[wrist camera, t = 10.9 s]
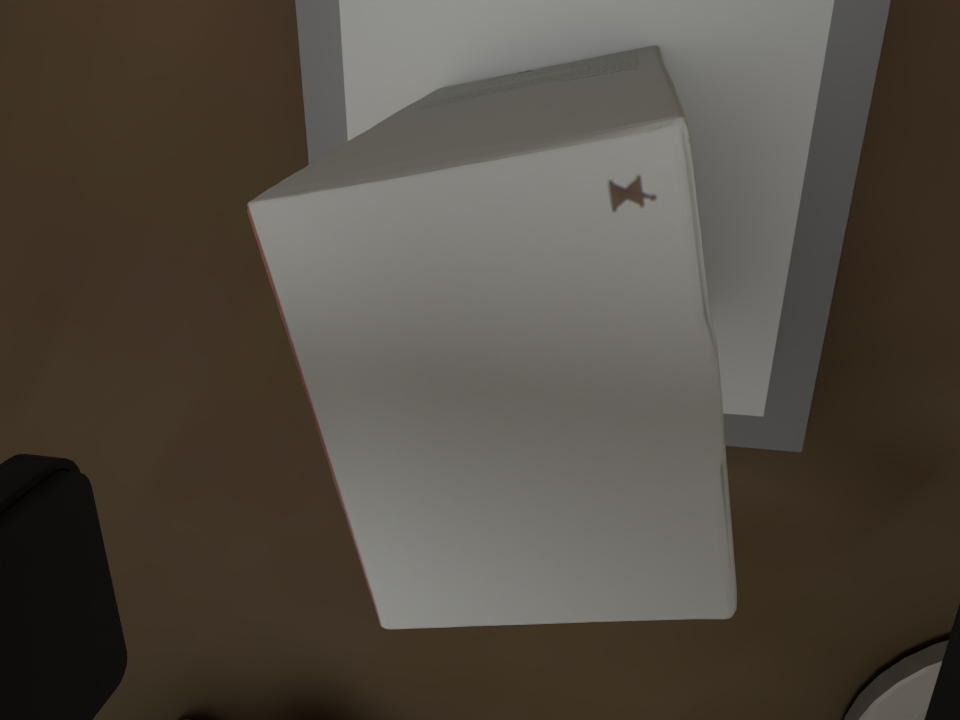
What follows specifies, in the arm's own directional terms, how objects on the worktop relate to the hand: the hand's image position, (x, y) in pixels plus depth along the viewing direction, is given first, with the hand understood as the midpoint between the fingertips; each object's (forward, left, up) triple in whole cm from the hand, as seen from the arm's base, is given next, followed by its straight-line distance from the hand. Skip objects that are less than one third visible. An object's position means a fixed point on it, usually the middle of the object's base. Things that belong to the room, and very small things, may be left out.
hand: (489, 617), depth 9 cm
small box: (0, 0, -17) cm, 17 cm away
